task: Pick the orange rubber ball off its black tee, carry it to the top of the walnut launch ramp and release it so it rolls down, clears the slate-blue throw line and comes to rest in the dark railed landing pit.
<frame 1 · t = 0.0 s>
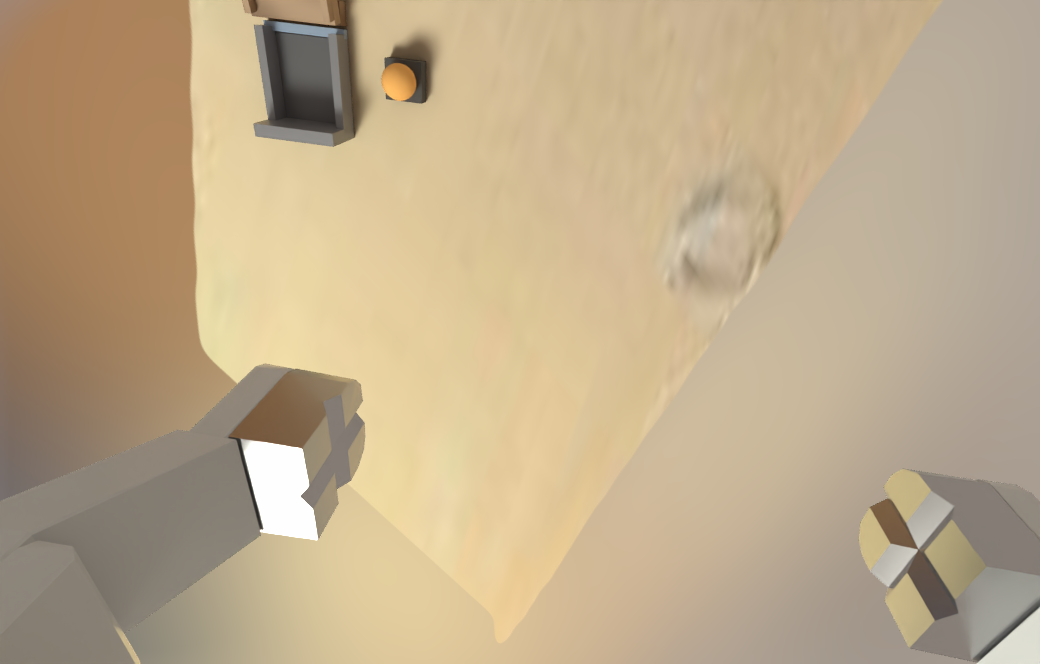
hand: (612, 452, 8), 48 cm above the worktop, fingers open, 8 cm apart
landing pit: (312, 78, 51), on the worktop
ball: (399, 82, 48), point 3 cm above the worktop, touching tee
tee: (408, 79, 50), on the worktop
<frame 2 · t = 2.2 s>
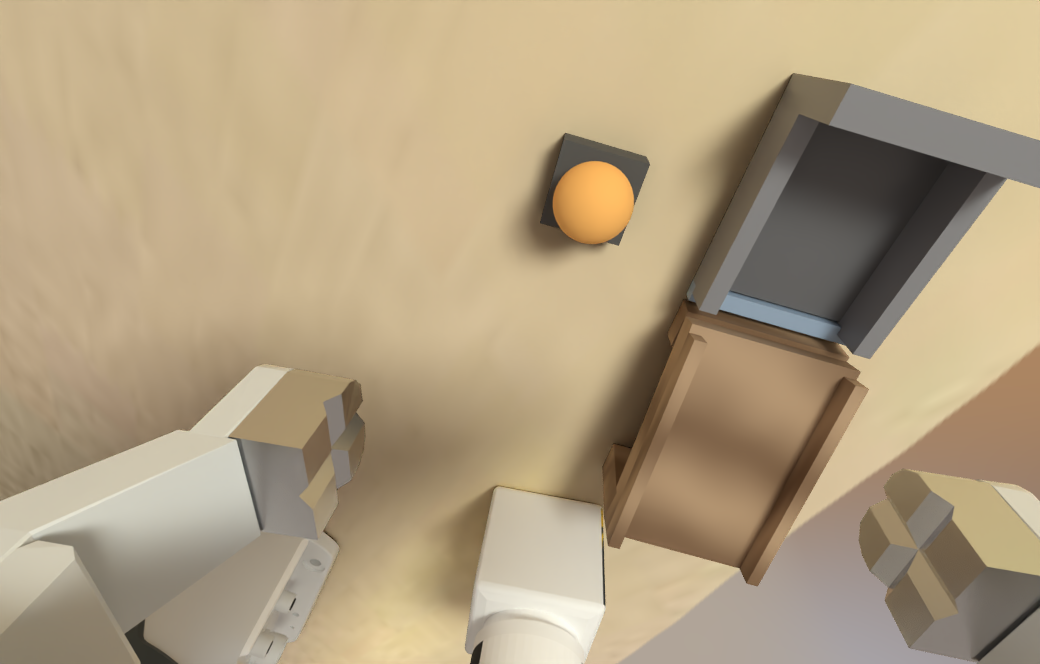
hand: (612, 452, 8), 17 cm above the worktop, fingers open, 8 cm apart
landing pit: (817, 227, 22), on the worktop
launch ramp: (707, 411, 28), on the worktop
medicine bottle: (540, 526, 35), on the worktop
ball: (592, 203, 20), point 3 cm above the worktop, touching tee
tee: (592, 185, 22), on the worktop
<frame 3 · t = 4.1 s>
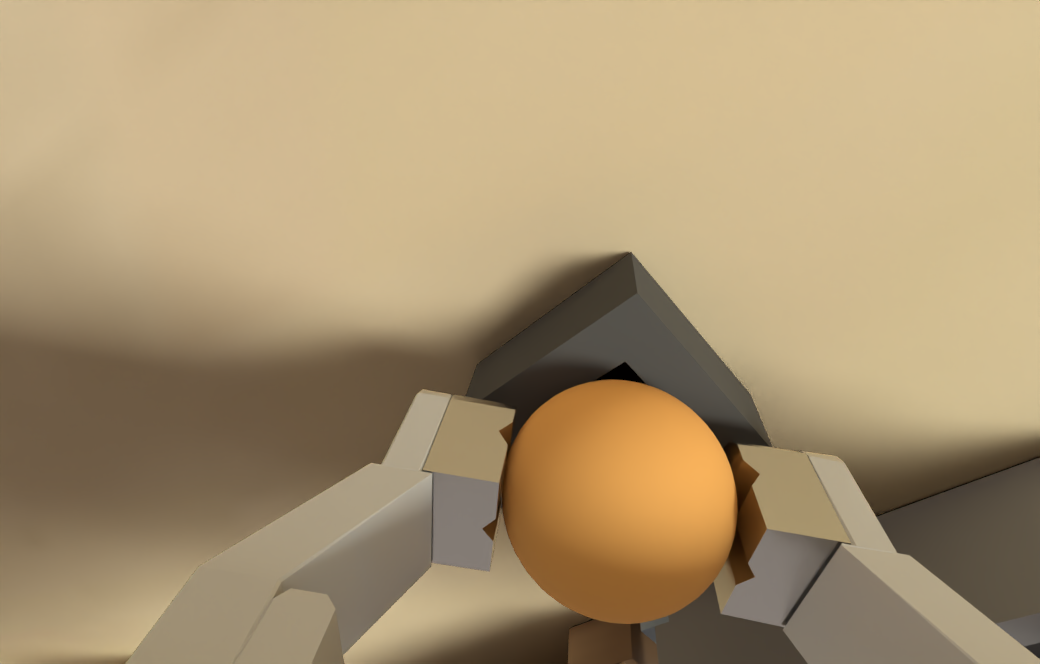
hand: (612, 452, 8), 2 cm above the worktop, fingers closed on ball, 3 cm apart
landing pit: (902, 630, 12), on the worktop
ball: (614, 493, 7), point 3 cm above the worktop, touching gripper, tee
tee: (610, 379, 9), on the worktop
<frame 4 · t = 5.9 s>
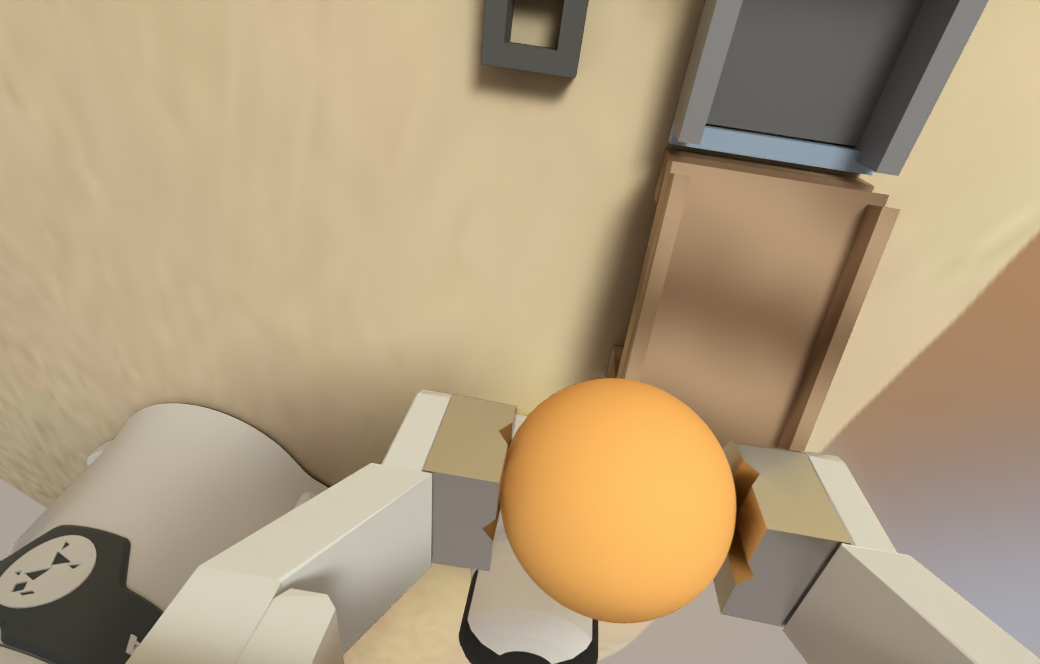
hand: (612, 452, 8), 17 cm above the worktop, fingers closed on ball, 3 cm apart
landing pit: (813, 22, 18), on the worktop
launch ramp: (715, 290, 24), on the worktop
medicine bottle: (550, 457, 31), on the worktop
ball: (613, 492, 7), point 18 cm above the worktop, touching gripper
tee: (538, 16, 19), on the worktop
when the fingers open (7 cm above the worktop, at t = 7.8 s): ball drops 6 cm and tips over, resting on landing pit.
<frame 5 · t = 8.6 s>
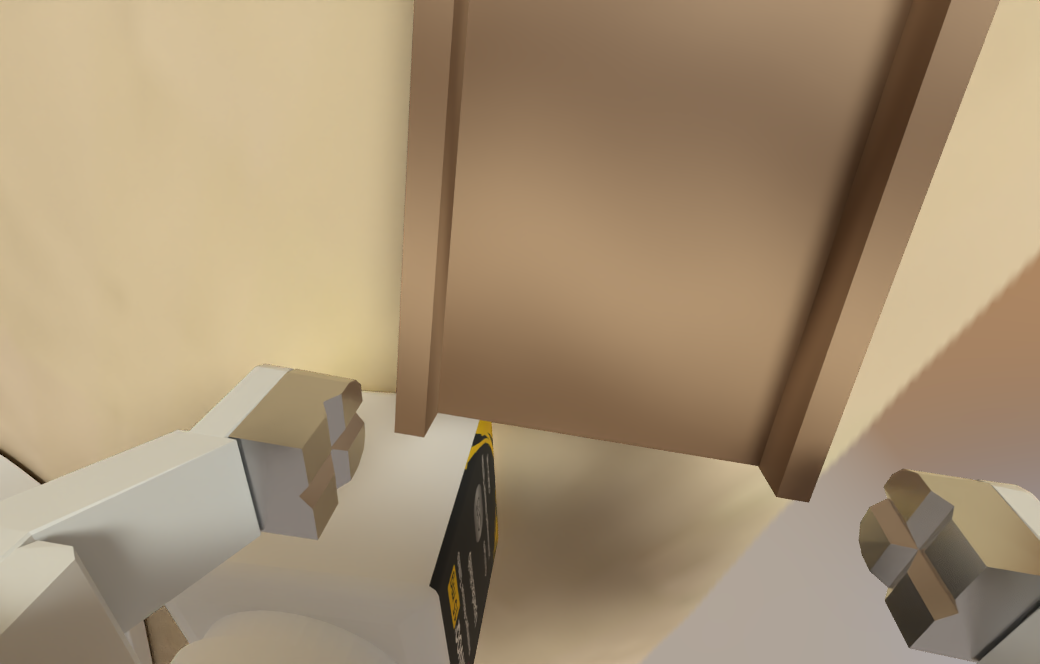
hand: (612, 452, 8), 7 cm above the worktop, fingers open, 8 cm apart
launch ramp: (638, 113, 12), on the worktop
medicine bottle: (405, 460, 19), on the worktop
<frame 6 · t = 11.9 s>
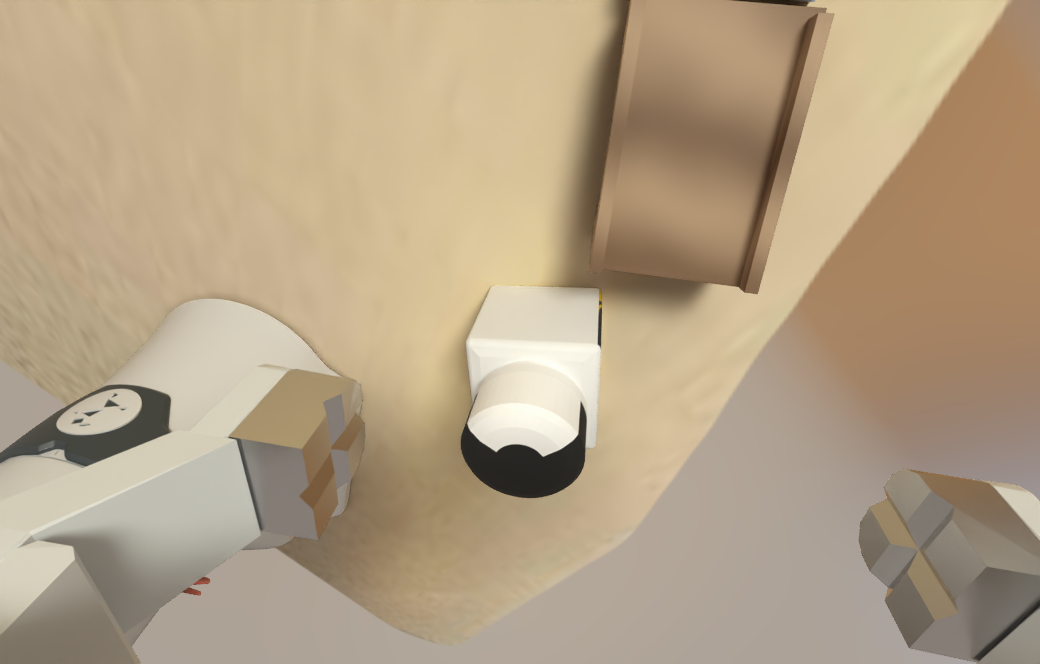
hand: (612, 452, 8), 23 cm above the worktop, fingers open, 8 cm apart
launch ramp: (685, 139, 26), on the worktop
medicine bottle: (546, 331, 34), on the worktop
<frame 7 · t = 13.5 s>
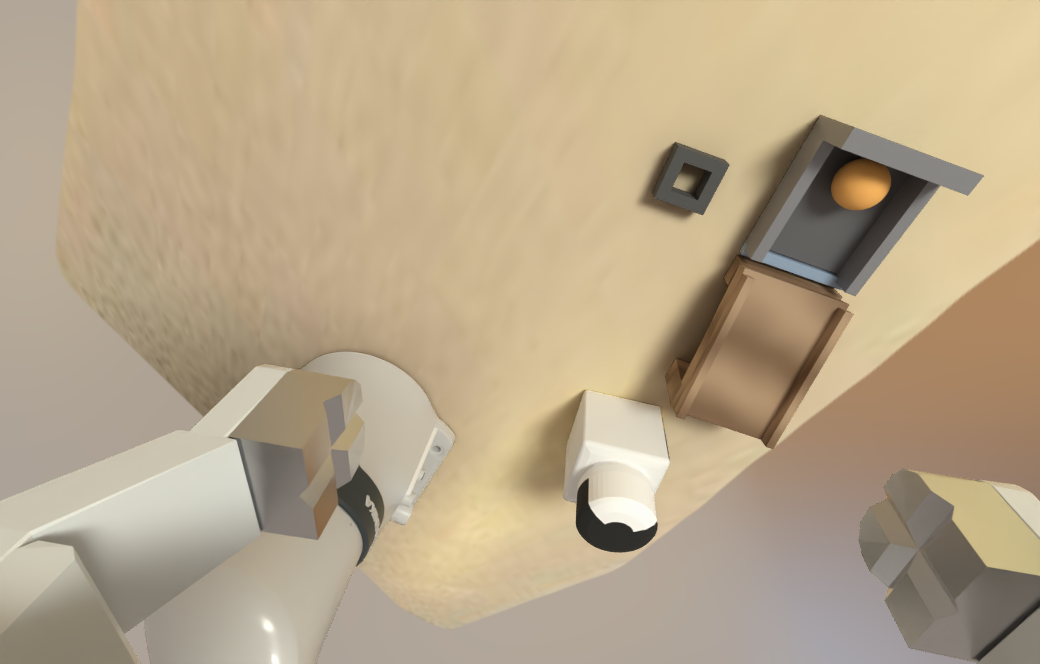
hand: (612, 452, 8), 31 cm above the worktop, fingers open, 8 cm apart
landing pit: (827, 210, 35), on the worktop
launch ramp: (744, 336, 41), on the worktop
medicine bottle: (612, 423, 48), on the worktop
ball: (860, 184, 32), point 2 cm above the worktop, tilted 66°, touching landing pit
tee: (687, 176, 35), on the worktop
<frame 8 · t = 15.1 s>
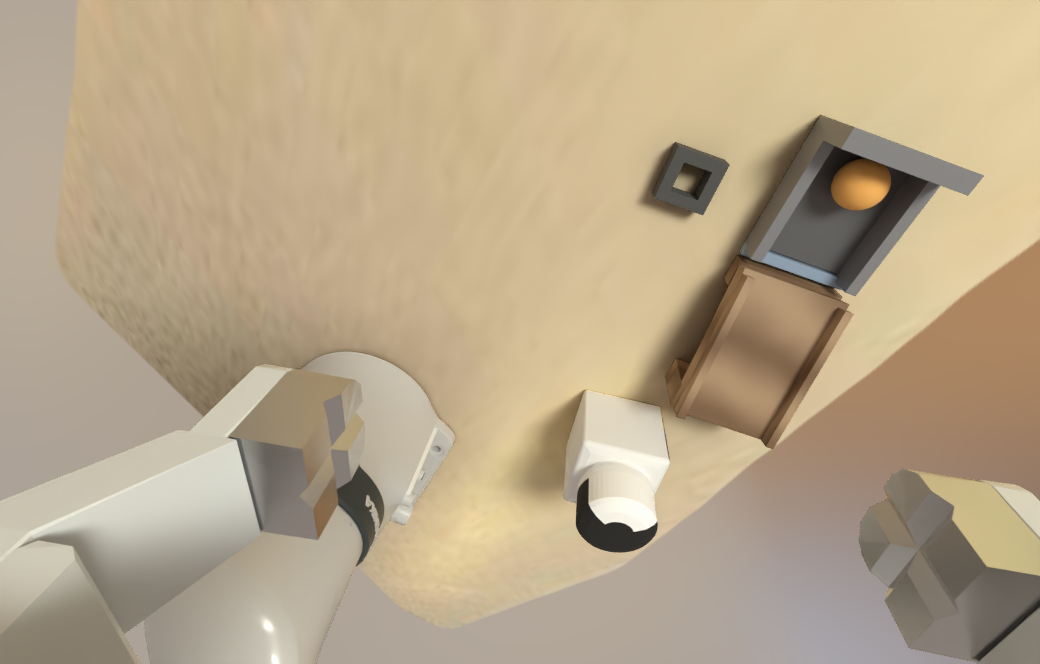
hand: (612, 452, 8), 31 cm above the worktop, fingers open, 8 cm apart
landing pit: (827, 210, 35), on the worktop
launch ramp: (744, 336, 41), on the worktop
medicine bottle: (612, 423, 48), on the worktop
ball: (860, 184, 32), point 2 cm above the worktop, tilted 67°, touching landing pit
tee: (687, 176, 35), on the worktop
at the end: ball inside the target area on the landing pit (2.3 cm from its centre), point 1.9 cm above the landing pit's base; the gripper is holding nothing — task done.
